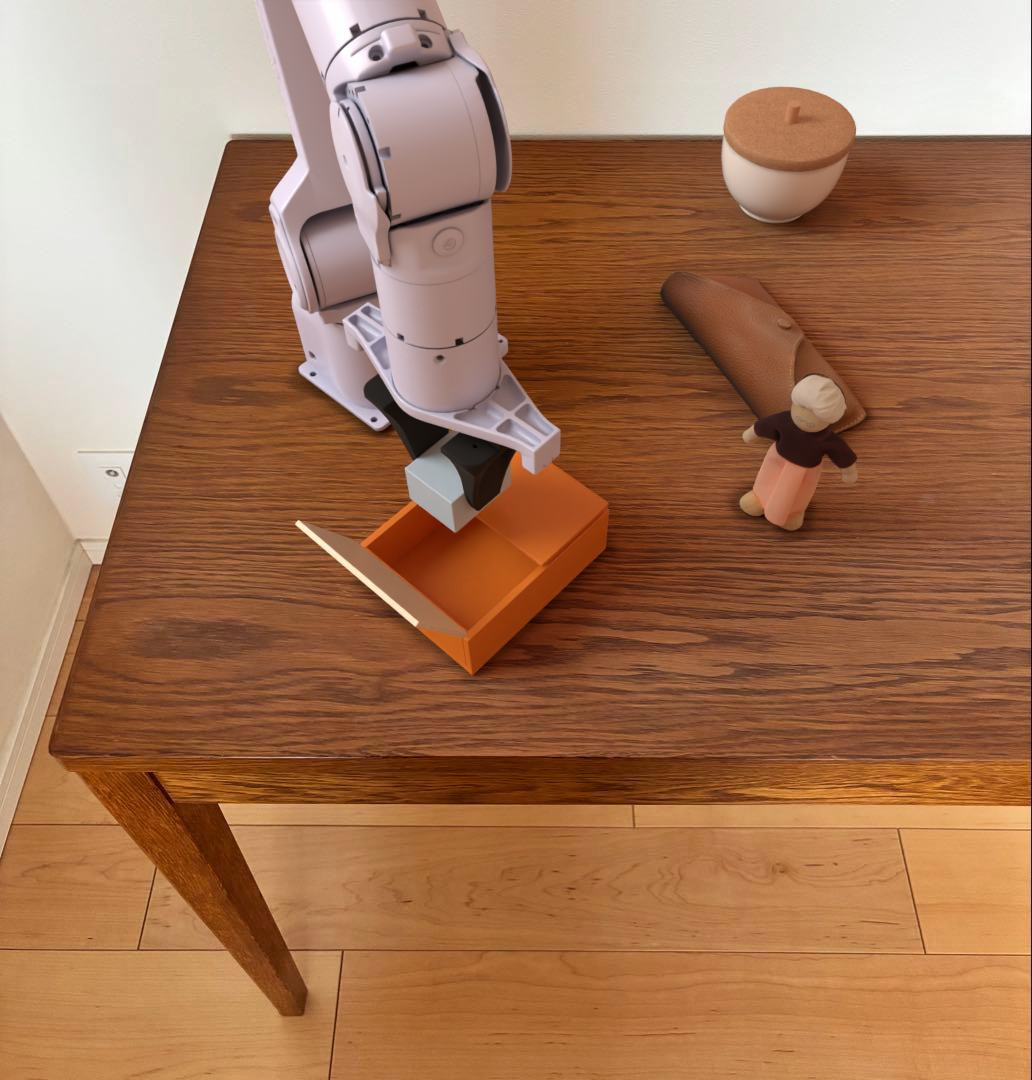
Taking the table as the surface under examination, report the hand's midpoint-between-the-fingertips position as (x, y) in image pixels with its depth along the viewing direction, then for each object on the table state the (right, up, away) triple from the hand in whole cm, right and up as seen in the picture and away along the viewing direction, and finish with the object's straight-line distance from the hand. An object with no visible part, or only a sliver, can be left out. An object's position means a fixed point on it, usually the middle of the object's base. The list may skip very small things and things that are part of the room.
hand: (458, 479), depth 60 cm
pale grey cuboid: (0, -1, +1) cm, 1 cm away
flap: (-4, -6, -3) cm, 8 cm away
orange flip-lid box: (+2, -5, +6) cm, 9 cm away
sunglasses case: (+22, +10, +17) cm, 30 cm away
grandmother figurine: (+22, -2, +9) cm, 24 cm away
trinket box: (+26, +26, +28) cm, 47 cm away
